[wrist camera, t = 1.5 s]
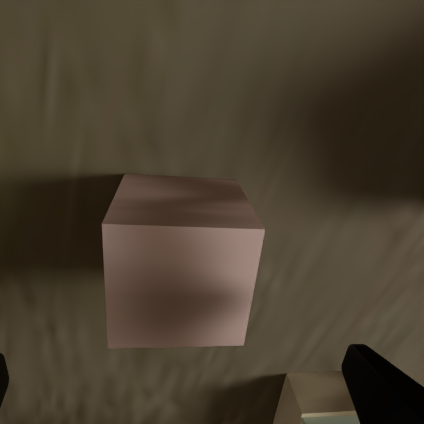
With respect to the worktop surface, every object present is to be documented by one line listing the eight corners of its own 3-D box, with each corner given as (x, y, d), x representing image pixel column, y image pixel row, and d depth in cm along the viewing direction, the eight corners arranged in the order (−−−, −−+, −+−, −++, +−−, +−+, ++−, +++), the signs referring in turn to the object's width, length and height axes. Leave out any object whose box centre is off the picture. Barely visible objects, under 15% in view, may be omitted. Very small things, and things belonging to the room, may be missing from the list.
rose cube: (235, 179, 14) (265, 229, 10) (223, 269, 16) (243, 345, 12) (124, 173, 14) (101, 224, 9) (126, 268, 16) (107, 348, 11)
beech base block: (381, 365, 22) (411, 407, 19) (353, 429, 24) (376, 474, 22) (284, 368, 21) (302, 413, 18) (267, 435, 23) (279, 482, 21)
